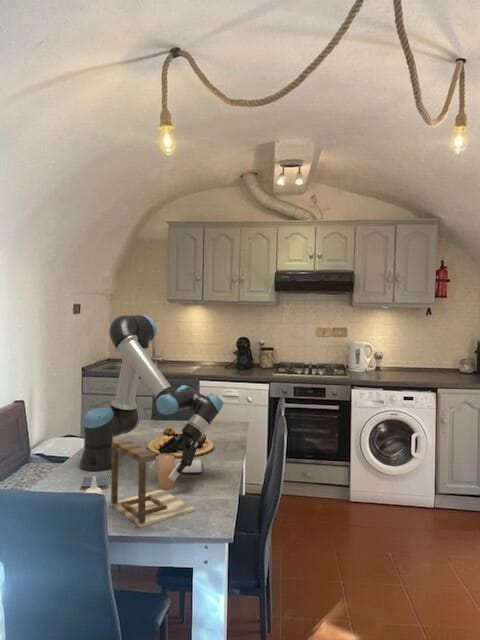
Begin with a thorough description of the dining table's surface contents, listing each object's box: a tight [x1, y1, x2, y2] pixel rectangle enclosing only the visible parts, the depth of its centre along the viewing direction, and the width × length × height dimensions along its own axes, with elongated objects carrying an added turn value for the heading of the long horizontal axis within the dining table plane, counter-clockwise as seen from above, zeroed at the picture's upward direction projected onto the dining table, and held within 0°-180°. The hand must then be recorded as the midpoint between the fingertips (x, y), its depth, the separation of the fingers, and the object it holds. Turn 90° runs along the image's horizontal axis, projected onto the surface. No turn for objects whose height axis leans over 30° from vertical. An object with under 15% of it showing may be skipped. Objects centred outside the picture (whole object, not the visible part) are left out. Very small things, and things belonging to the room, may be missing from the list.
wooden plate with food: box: [146, 426, 215, 459], centre depth 237 cm, size 32×32×8 cm
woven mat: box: [79, 476, 111, 491], centre depth 188 cm, size 10×11×2 cm
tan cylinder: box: [157, 453, 176, 491], centre depth 187 cm, size 6×6×12 cm
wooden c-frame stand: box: [110, 438, 195, 528], centre depth 167 cm, size 21×20×22 cm
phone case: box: [180, 459, 203, 476], centre depth 209 cm, size 9×2×16 cm
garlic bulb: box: [84, 475, 104, 495], centre depth 174 cm, size 6×6×8 cm
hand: (161, 474), depth 185 cm, fingers open, 13 cm apart
